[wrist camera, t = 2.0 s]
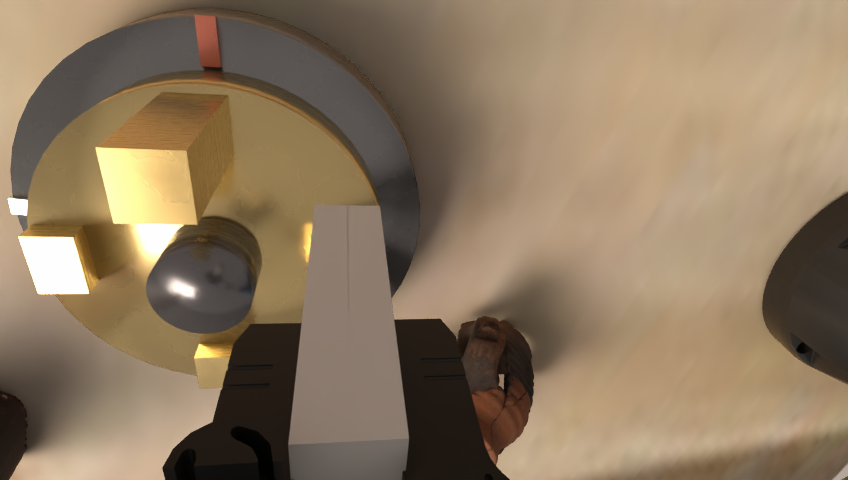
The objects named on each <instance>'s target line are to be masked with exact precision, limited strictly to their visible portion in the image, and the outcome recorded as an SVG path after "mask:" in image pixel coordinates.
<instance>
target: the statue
mask: <svg viewBox="0 0 848 480" xmlns="http://www.w3.org/2000/svg"><path fill="white" fill-rule="evenodd" d="M26 415H27V414H26V410H25V409H24V407H23V404H22V403H21V402H20V400H18V399H17V398H16V397H14V396H11V395H6V394H3V393H0V480H9V479H10V477H11V476H12V474H13V472H14V470H15V468H16V467H17V465H18V464H19V462H20V460H21V459H22V456H23V454H24V451H25V449H26V447H27V445H26V444H25V441H26V440H27V438H26V428H27V426H28V425H27V424H26V421H25V419H26V417H27V416H26Z"/></svg>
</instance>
